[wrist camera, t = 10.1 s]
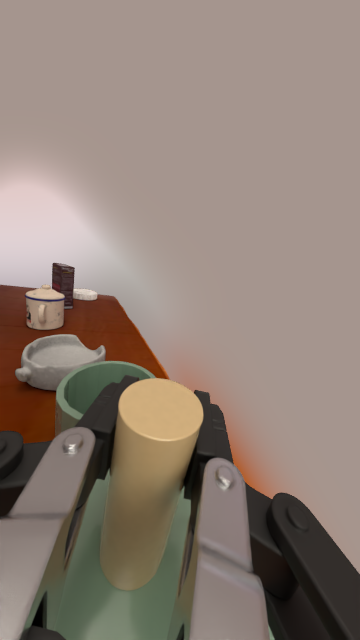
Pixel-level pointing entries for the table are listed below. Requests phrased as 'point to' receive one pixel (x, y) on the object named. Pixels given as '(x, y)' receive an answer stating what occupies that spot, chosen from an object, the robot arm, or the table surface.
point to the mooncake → (84, 294)
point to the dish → (55, 360)
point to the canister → (89, 389)
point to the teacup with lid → (44, 308)
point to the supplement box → (63, 282)
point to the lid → (135, 521)
